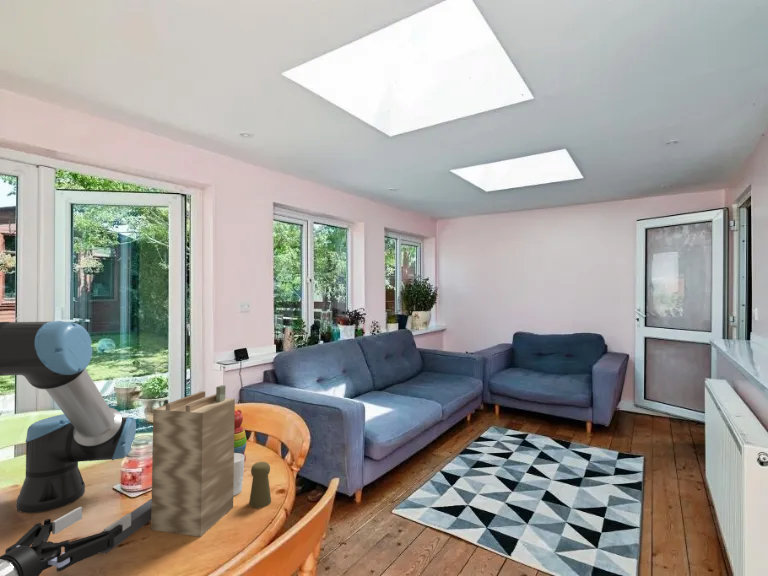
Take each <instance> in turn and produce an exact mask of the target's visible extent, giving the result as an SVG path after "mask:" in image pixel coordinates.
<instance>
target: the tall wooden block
mask: <svg viewBox="0 0 768 576" xmlns="http://www.w3.org/2000/svg"><path fill="white" fill-rule="evenodd" d="M215 391H216V392H215V394H212V395H210V396H206V391H202V390H201V391H199V392H196V393H193V394H191V395H188V396H187V395H186V396H185V397H181V398H179V399H176V400H174V401H171V402H169V403H165V404H164V405H162V406H159V407H156V408H154V409H153V410H152V414H153V415H152V417H153V418H152V457H151V458H152V464H151V467H152V468H151V499H152V505H151V521H150V530H151V531H158V532H163V533H172V534H179V535H187V536H193V537H200V538H201V537H202V536H203V535H204V534H206V533H207V532H208V531H209V530H210V529H211V528H212V527H214V525H216V524H217V522H219V521H220V520H221V519H222V518H223V517H224V516H226V515H227V513H229V512H230V511H231V510H232V509H233V508H234V496H233V487H234V421H235V411H236V409H235V407H236V399H235V398H229V397H227V398H226V385H225V384H224V385H223V384H221V385H218V386H215ZM206 531H207V532H206Z"/></svg>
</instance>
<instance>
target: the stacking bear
mask: <svg viewBox="0 0 768 576" xmlns="http://www.w3.org/2000/svg"><path fill="white" fill-rule="evenodd" d="M243 420H244V419H243V414H242V410H241V409H237V410H235V421H234V453H240V454H243V455H244V463H245V462H246V460H247V458H246V457H247V456H246V454H245V451H246V448H247V441H248V440H247V436H246V430H245V428H244V427H243V426H242V425H243Z"/></svg>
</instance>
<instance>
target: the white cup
mask: <svg viewBox="0 0 768 576" xmlns="http://www.w3.org/2000/svg"><path fill="white" fill-rule="evenodd" d="M244 469H245V462H244V455H243V454H240V453H234V487H233V497H235V496H237V495H239V494H240V493H241V492H242V491H243V490H242V489H243V481H244Z"/></svg>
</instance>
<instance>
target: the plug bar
mask: <svg viewBox="0 0 768 576" xmlns="http://www.w3.org/2000/svg"><path fill="white" fill-rule="evenodd" d="M151 505H152V498H151V499H149V500H148V501H146V502H145V503H143V504H142V505H140V506H138V507H136V508H135V509H134V510H132V511H131V512H130V514H131V526H129V527H128V528H127V529H125V530H124V531H122V533H120V534H119V535H117V536H116V537H115V538H114V547H112V548H110V549H107V550H105V551H103V552H100V553H99V554H107V553H109V552H110V551H111V550H113V549H114V548H115V547H117V546H118V545H119V544H121V543H122V542H123V541H125V540H126V539H128V538H129V537H131V534H132V535H133V534H134V533H136V532H137V531H139V530H140V529H141V528H142V527H144V526H146V525H147V524H148V523H149V522H151ZM101 532H104V530H103V531H101Z"/></svg>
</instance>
